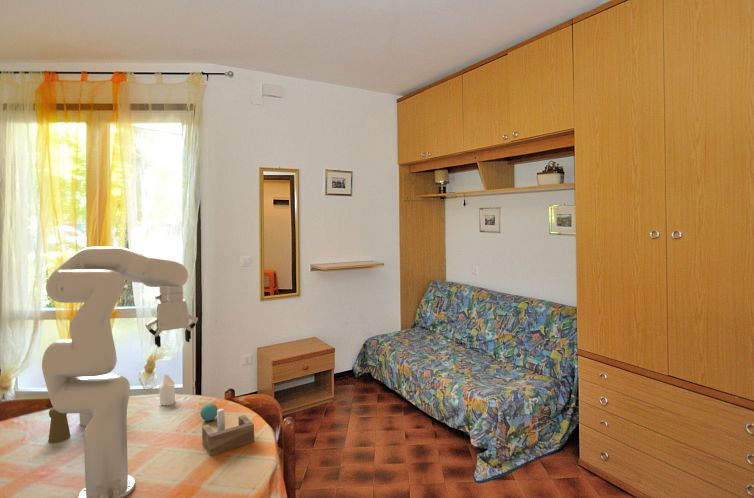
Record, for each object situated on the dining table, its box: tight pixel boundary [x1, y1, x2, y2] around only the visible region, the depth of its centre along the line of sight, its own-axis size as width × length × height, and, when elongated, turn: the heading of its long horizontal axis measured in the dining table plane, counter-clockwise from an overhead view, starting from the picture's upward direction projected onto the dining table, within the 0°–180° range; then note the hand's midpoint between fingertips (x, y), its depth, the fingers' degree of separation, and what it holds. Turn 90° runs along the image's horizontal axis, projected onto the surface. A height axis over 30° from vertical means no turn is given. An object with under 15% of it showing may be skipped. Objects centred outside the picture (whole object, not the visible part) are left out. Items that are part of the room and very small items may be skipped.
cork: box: [47, 406, 71, 444], centre depth 139 cm, size 6×6×11 cm
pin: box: [216, 408, 226, 432], centre depth 142 cm, size 2×2×8 cm
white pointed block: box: [158, 373, 176, 407], centre depth 168 cm, size 6×12×6 cm
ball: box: [200, 403, 218, 422], centre depth 153 cm, size 6×6×6 cm
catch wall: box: [201, 414, 255, 457], centre depth 136 cm, size 9×14×6 cm, turn 128°
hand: (173, 343), depth 150 cm, fingers open, 9 cm apart
